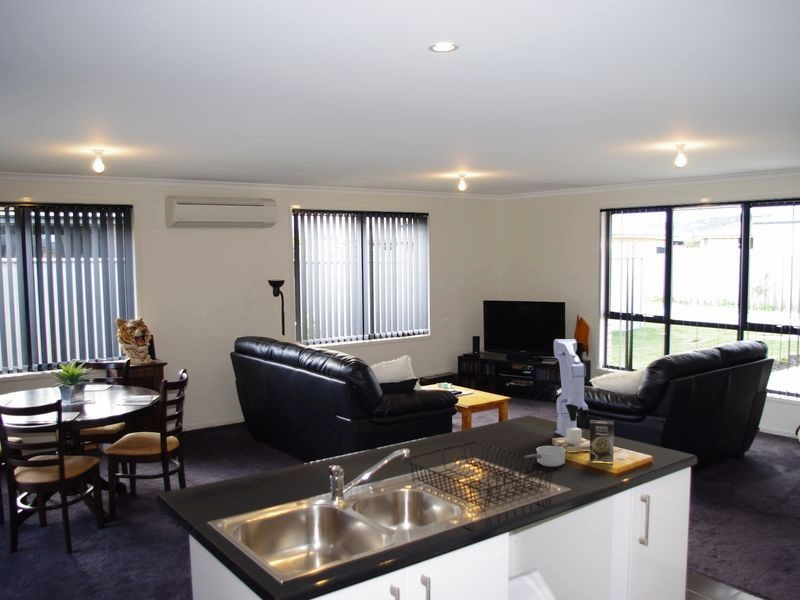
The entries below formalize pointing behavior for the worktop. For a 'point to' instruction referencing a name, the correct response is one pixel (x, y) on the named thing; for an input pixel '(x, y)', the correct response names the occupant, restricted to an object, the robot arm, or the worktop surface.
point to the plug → (574, 435)
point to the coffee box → (601, 440)
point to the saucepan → (549, 455)
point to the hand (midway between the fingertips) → (577, 422)
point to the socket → (571, 447)
